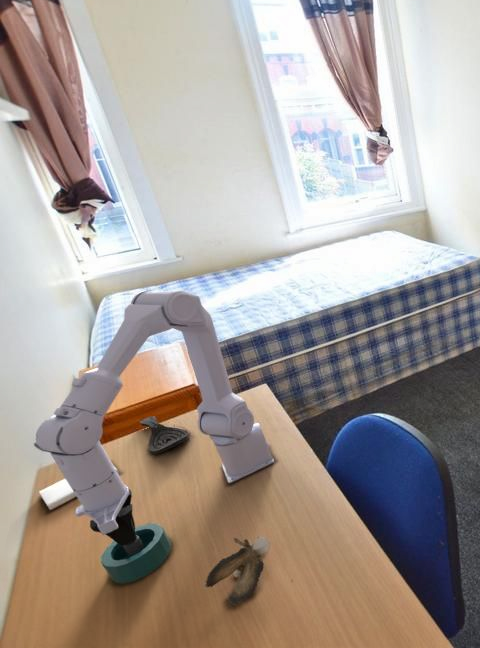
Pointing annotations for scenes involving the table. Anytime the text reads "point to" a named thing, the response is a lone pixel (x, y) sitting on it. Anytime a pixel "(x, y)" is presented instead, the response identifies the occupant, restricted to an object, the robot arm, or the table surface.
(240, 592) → the eagle figurine
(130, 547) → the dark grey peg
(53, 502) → the hard drive
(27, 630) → the table surface
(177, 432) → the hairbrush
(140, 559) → the teal hollow cylinder
